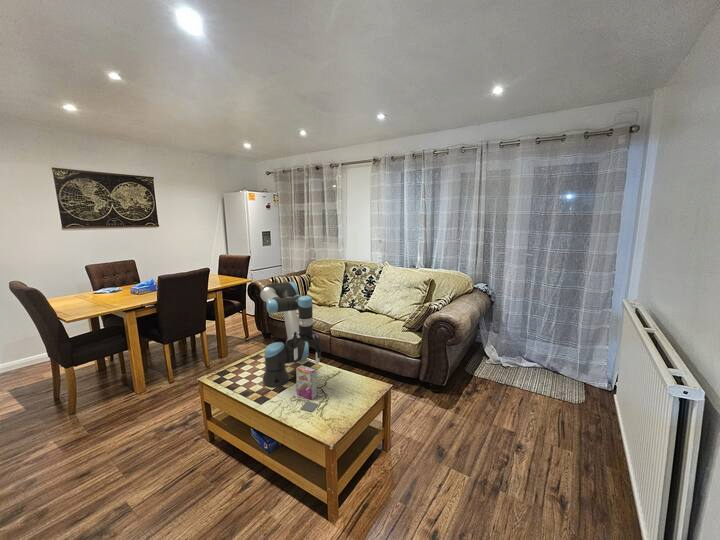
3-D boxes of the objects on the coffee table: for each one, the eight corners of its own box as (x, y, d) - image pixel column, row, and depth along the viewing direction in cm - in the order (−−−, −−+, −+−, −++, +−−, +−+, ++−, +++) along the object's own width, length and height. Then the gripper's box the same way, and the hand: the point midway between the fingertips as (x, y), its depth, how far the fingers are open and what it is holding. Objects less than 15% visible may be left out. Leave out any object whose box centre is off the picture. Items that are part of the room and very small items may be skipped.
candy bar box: (296, 394, 173) (295, 367, 170) (302, 390, 177) (301, 364, 174) (311, 400, 167) (310, 372, 165) (317, 396, 171) (316, 369, 169)
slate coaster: (300, 409, 159) (300, 408, 159) (307, 402, 166) (307, 401, 166) (312, 412, 157) (312, 411, 157) (318, 404, 163) (318, 403, 163)
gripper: (282, 324, 166) (283, 360, 170) (323, 329, 158) (324, 367, 162) (289, 319, 173) (290, 354, 177) (329, 325, 165) (329, 361, 169)
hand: (306, 361), depth 169 cm, fingers open, 13 cm apart
